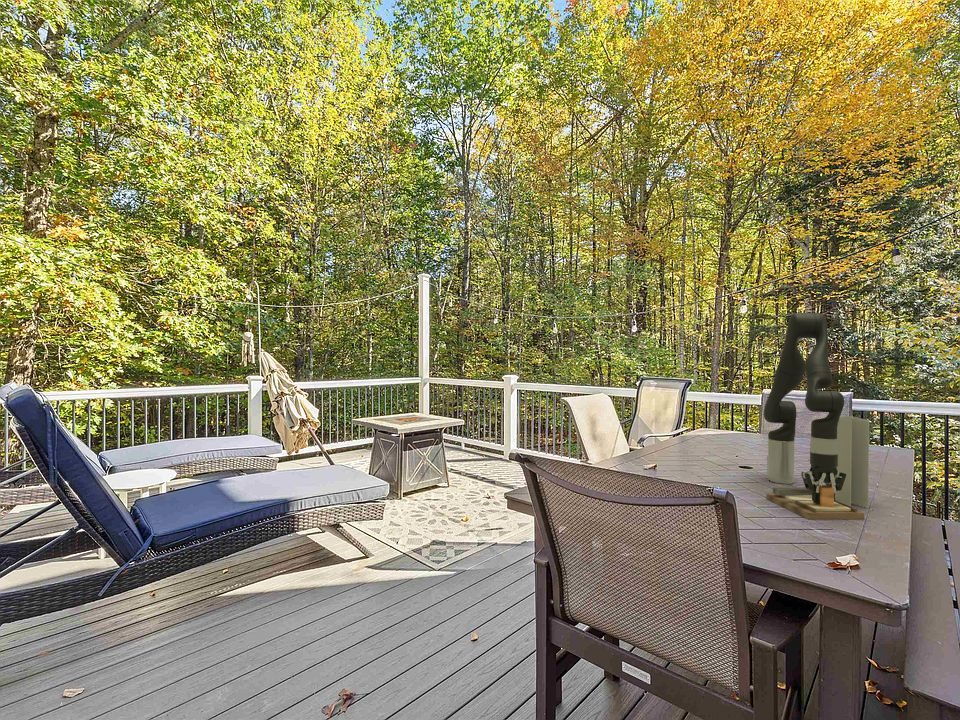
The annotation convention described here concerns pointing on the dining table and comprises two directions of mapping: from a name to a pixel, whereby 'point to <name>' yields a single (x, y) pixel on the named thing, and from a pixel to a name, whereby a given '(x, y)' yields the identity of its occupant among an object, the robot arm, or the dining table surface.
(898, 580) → the dining table surface
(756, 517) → the dining table surface
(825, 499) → the wooden block on base
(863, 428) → the folded green panel
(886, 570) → the dining table surface
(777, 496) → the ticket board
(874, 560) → the dining table surface
